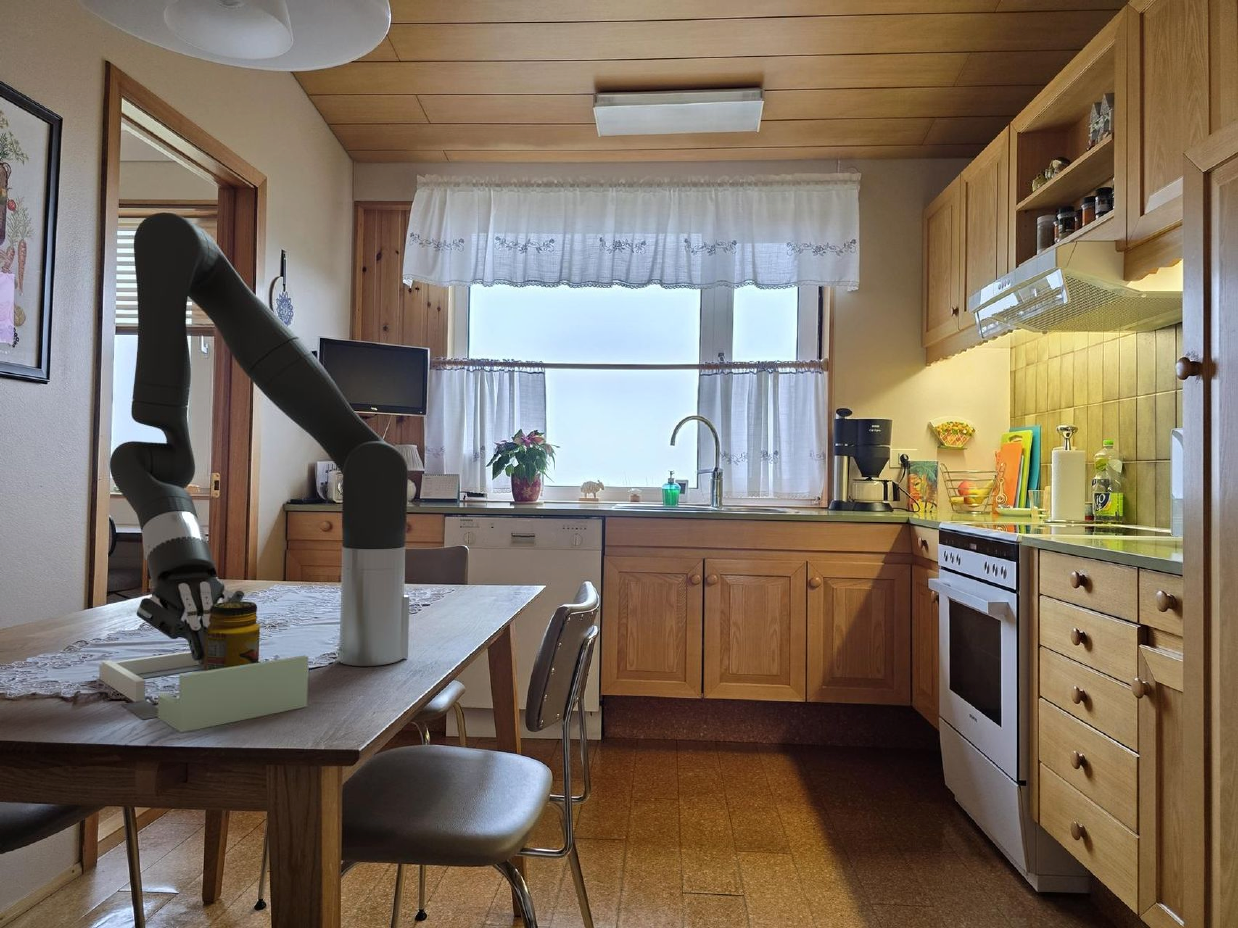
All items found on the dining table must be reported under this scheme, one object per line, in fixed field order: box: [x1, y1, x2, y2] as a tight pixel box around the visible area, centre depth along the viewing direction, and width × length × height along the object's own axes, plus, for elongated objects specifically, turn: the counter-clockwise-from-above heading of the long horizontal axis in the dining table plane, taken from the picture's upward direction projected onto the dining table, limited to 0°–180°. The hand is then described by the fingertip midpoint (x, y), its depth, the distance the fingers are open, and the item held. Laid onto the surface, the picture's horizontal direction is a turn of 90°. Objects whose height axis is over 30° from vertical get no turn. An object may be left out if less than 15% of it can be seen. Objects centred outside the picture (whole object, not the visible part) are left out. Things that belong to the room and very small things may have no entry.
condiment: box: [203, 600, 261, 671], centre depth 95 cm, size 7×8×12 cm
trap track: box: [98, 651, 309, 733], centre depth 99 cm, size 16×31×6 cm, turn 47°
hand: (208, 659), depth 97 cm, fingers closed
